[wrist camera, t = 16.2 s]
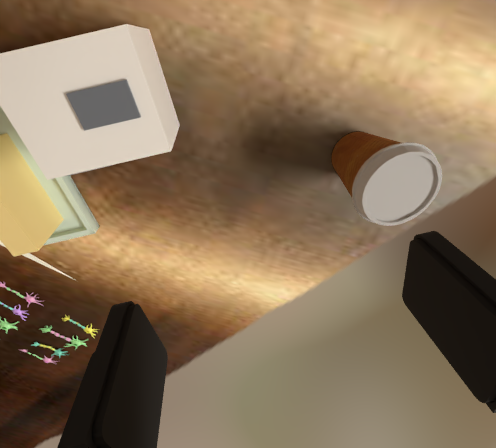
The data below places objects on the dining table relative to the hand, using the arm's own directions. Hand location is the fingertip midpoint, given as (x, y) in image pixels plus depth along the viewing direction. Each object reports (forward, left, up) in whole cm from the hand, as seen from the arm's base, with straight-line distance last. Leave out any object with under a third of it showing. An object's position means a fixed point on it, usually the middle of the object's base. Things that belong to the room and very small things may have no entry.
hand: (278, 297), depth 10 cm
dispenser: (-5, -12, -30) cm, 33 cm away
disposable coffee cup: (+9, +16, -31) cm, 36 cm away
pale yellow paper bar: (+2, -26, -30) cm, 40 cm away
